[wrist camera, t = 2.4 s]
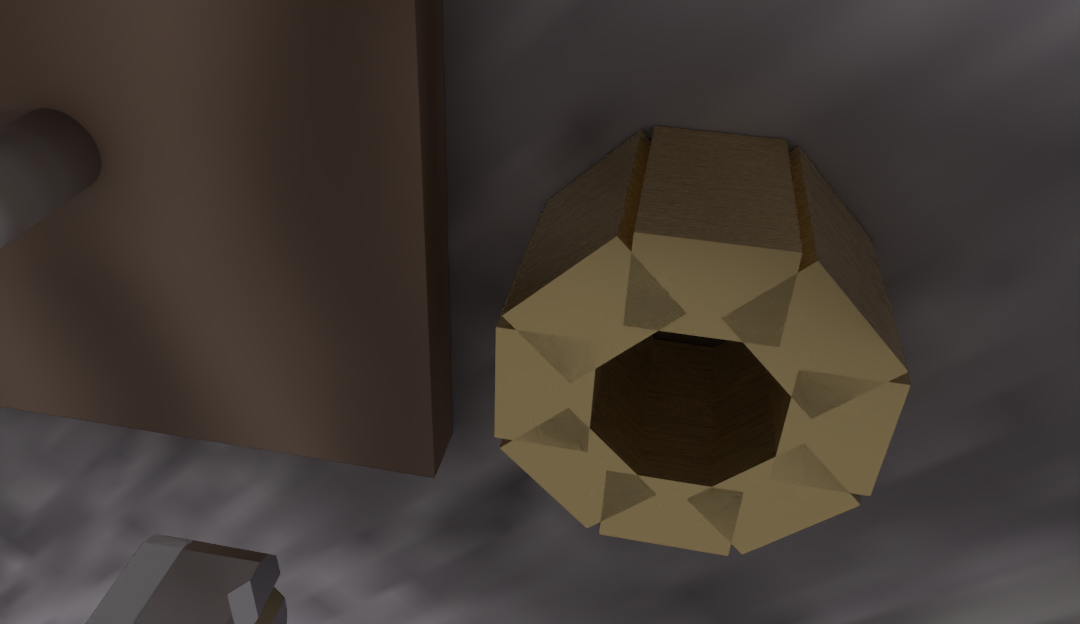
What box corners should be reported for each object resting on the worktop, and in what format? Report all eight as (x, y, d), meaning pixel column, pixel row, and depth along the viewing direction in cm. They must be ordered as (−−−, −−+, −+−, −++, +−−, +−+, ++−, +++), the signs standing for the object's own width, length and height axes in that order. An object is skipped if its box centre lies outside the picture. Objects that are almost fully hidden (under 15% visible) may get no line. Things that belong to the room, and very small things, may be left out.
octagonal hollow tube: (902, 152, 15) (952, 270, 11) (821, 424, 18) (841, 575, 15) (546, 114, 15) (497, 215, 12) (534, 382, 19) (493, 516, 16)
